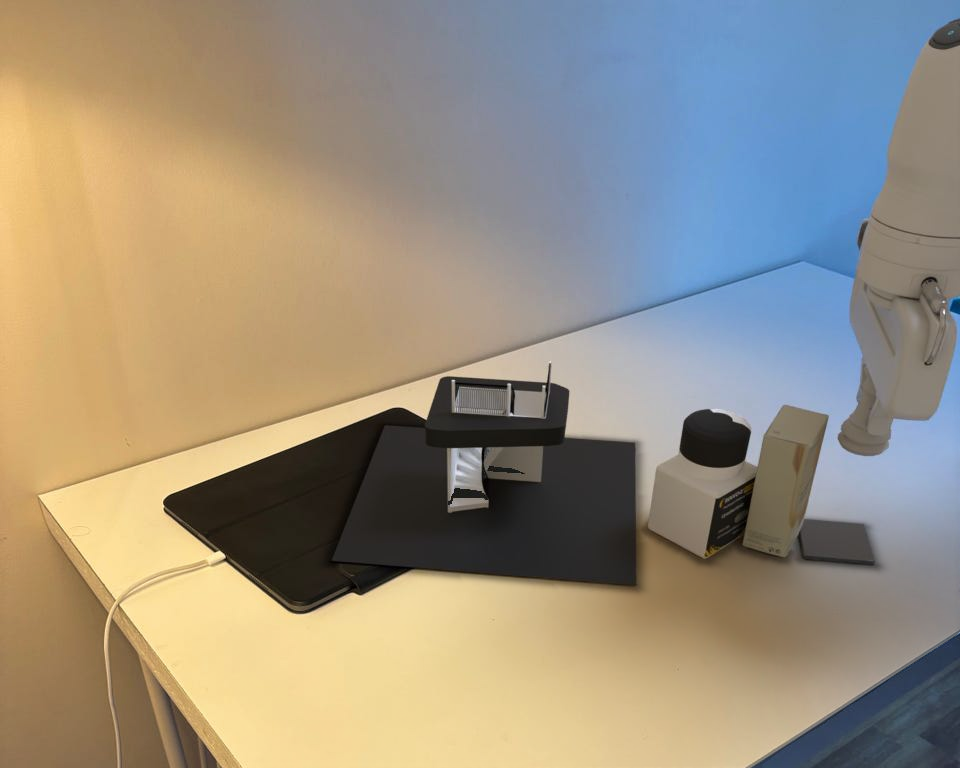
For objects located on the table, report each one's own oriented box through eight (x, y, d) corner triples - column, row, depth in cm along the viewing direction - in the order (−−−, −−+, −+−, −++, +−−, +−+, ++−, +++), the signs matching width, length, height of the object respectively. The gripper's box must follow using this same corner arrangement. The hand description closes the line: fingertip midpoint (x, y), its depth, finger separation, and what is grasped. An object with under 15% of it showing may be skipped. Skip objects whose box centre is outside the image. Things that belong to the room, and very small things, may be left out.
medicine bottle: (704, 561, 92) (727, 446, 84) (645, 529, 96) (662, 417, 88) (749, 532, 96) (775, 420, 88) (691, 502, 100) (710, 393, 92)
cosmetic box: (785, 560, 92) (811, 448, 84) (740, 547, 94) (761, 436, 85) (804, 523, 96) (831, 412, 88) (761, 511, 98) (783, 401, 89)
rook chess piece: (856, 428, 90) (881, 345, 85) (898, 448, 87) (926, 363, 82) (825, 442, 88) (848, 357, 83) (866, 463, 85) (893, 377, 80)
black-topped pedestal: (331, 561, 91) (318, 432, 82) (384, 426, 111) (378, 310, 102) (636, 586, 89) (655, 455, 80) (635, 443, 109) (650, 326, 100)
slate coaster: (862, 527, 97) (864, 523, 96) (874, 565, 92) (875, 561, 92) (796, 521, 97) (797, 518, 97) (803, 559, 92) (804, 555, 92)
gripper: (996, 312, 69) (933, 483, 78) (933, 219, 84) (887, 370, 93) (903, 305, 70) (852, 476, 78) (857, 215, 85) (819, 366, 94)
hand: (870, 418), depth 86 cm, fingers closed on rook chess piece, 3 cm apart
